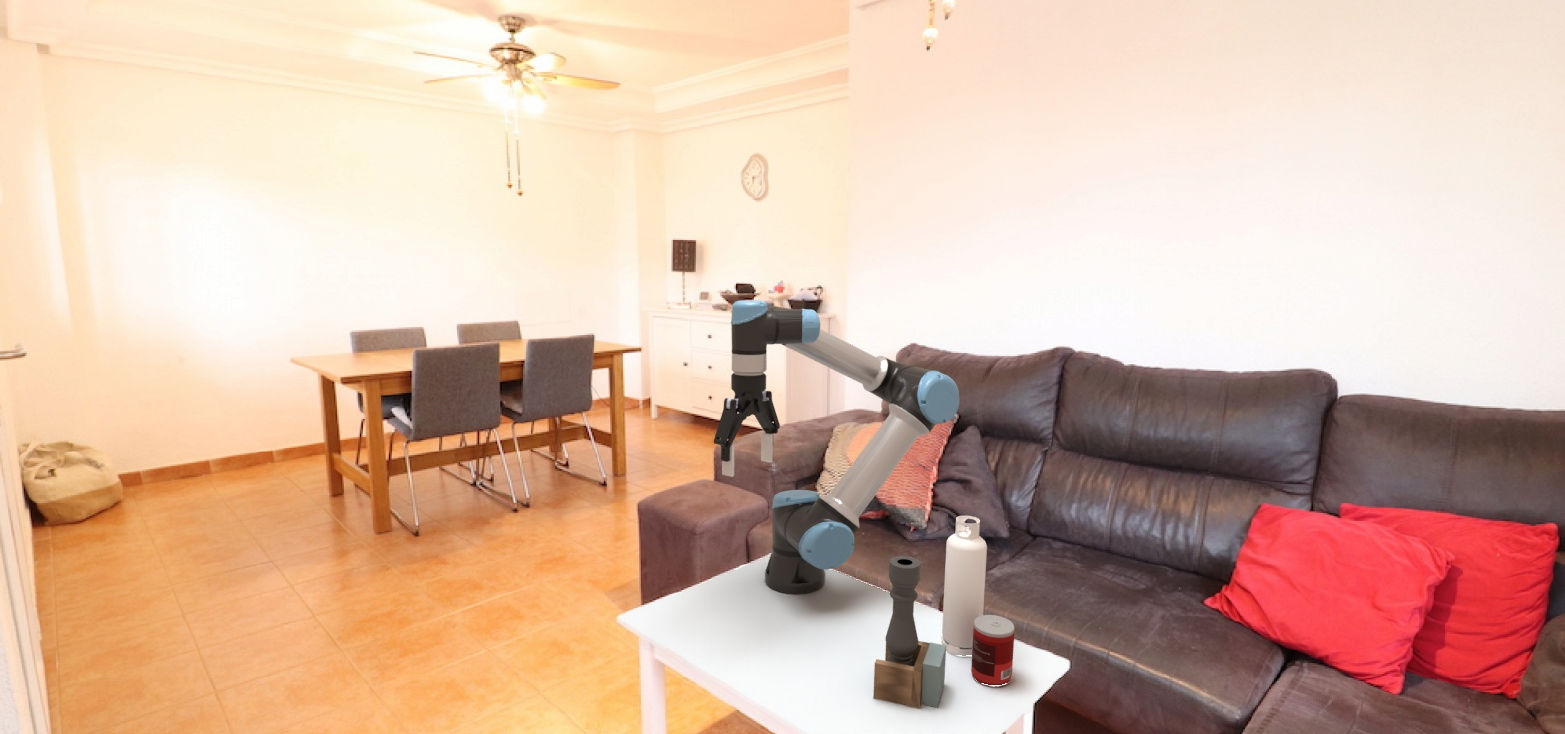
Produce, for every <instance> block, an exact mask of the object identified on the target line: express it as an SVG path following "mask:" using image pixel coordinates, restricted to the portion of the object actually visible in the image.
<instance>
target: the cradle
mask: <svg viewBox="0 0 1565 734" xmlns="http://www.w3.org/2000/svg"><path fill="white" fill-rule="evenodd" d="M929 645H930V642H927V641H922V640H918V646H917V649H916V651H915V652H914V653H913V657H912V658H913V660H914V661H915V666H914V667H913V666H908V665H903V664H898V663H894V662H889V661H886V660H887V658H888V657H889V656H890V652H889V649H888V647H887V645H886V644H885V658H884V660H883V659H879V658H876V660H875V662H874V668H873V669H874V670H873V671H874V673H873V697H872V698H873V699H877V700H880V701H885V702H889V703H894V704H897V705H903V706H906V707H910V708H916V709H920V707H921V705H922V704H921V698H922V677H923V662H924V660H925V657H926V654H927V651H928V648H929Z"/></svg>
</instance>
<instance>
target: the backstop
mask: <svg viewBox="0 0 1565 734" xmlns="http://www.w3.org/2000/svg"><path fill="white" fill-rule="evenodd" d="M929 643H930V645H929V648H928V651H927V654H926V657H925V660H924V662H923V677H922V698H921V705H923V706H928V707H933V708H937V709H938V708H939V704H940V701H941V697H942V694H943V690H944V687H945V678H946V676H945V675H946V655H947V652H946V645H942V643H934V642H929Z"/></svg>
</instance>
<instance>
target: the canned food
mask: <svg viewBox="0 0 1565 734" xmlns="http://www.w3.org/2000/svg"><path fill="white" fill-rule="evenodd" d="M1015 632H1016V631H1015V624H1014V623H1013V622H1012V621H1011V620H1009V619H1008V618H1006V617H1003V616H1000V615H994V614H983V616H979V617H977V618H976V619H975V621H974V628H973V646H972V648H971V649H972V657H971V665H970V666H971V669H970V671H971V675H972V677H974V678H975V679H976V680H977V681H978V683H979V682H980V683H979V684H981V683H984V684H988V685H1002V684H1005V683H1008V682H1009V681H1010V682H1011V679H1012V674H1013V662H1014V661H1013V659H1014V646H1015ZM974 678H973V679H974ZM975 679H974V680H975ZM976 680H975V681H976ZM977 681H976V682H977ZM1010 682H1009V683H1010ZM1009 683H1008V684H1009Z"/></svg>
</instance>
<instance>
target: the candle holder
mask: <svg viewBox="0 0 1565 734" xmlns="http://www.w3.org/2000/svg"><path fill="white" fill-rule="evenodd" d="M888 567H889V569H888V578H889V580H890V584H891V586H892V588H891V589H890V591H889V596H890V597H891V598H892V613H891V617H890V620H889V621H890V622H889V624H888V627H887V631H886V634H885V646H886V645H887V647H888V649H889V652H890V656H889V657H888V658H887V660H886V661H889V662H894V663H898V664H903V665H908V666H913V667H914V666H915V661H914V660H913V658H912V657H913V653H914V652H915V651H916V649H917V646H918V641H919V638H918V633H917V628H916V622H915V617H914V612H915V611H914V610H915V609H914V607H915V606H914V605H915V601H916V600H917V599H918V596H919V593H918V591H917V590H916V588H917V586H918V585H919V583H920V580H921V561H920V560H918V559H917V558H915V557H912V556H907V555H898V556H897V555H896V556H893V557H891V558H890V559H889V566H888Z"/></svg>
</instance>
